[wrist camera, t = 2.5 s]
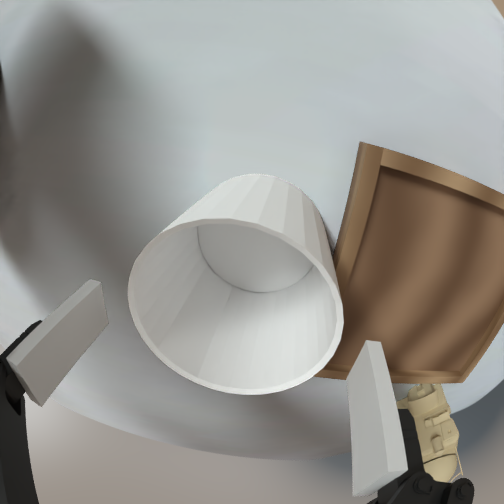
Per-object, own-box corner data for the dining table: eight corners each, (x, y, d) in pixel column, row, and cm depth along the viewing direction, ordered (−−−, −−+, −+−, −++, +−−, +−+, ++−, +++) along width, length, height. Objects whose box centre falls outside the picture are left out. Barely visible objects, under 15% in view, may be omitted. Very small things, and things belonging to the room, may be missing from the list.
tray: (300, 357, 23) (299, 374, 22) (359, 141, 16) (367, 143, 14) (457, 369, 22) (462, 382, 20) (534, 211, 14) (548, 219, 12)
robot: (369, 399, 25) (381, 527, 12) (439, 369, 22) (476, 493, 9) (389, 433, 28) (399, 530, 15) (445, 410, 25) (468, 505, 12)
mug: (244, 144, 17) (193, 163, 9) (352, 231, 18) (390, 318, 10) (156, 271, 22) (93, 348, 14) (246, 334, 23) (222, 428, 15)
